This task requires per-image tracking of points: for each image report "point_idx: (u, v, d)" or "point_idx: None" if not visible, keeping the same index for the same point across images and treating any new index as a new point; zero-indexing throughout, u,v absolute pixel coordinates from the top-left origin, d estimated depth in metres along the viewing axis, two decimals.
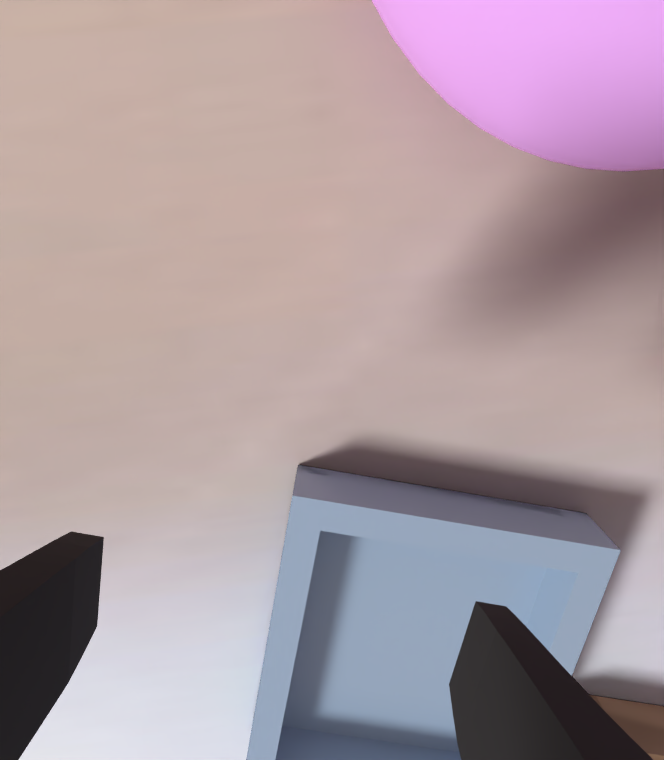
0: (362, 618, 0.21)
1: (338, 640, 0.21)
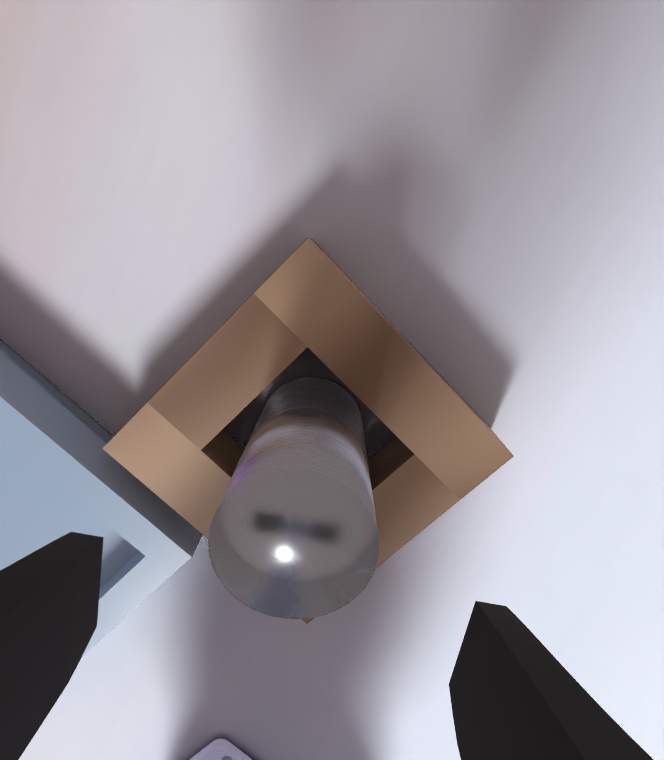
0: None
1: None
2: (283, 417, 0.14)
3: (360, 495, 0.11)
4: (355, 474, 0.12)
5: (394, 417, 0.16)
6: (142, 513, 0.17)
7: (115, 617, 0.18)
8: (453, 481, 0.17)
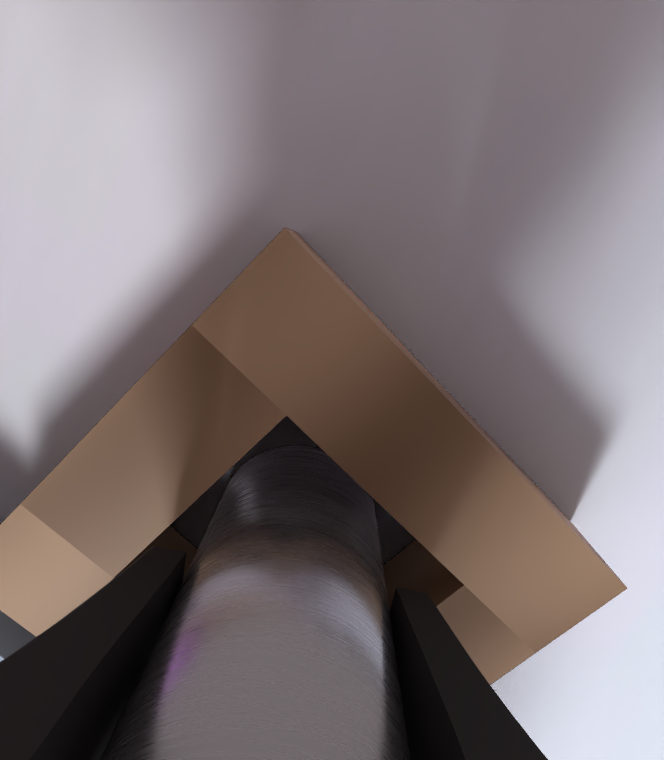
0: None
1: None
2: (238, 554, 0.08)
3: None
4: (376, 738, 0.06)
5: (432, 528, 0.10)
6: None
7: None
8: (526, 626, 0.10)
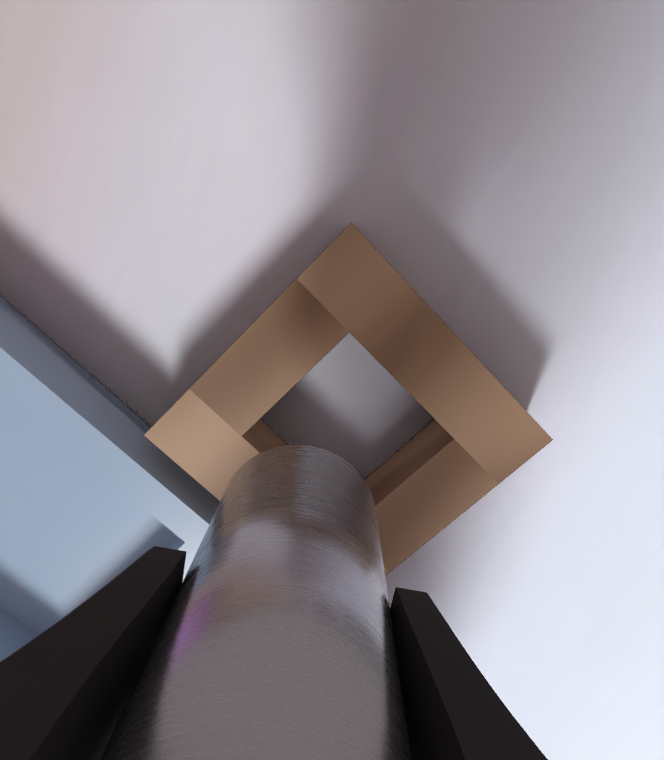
0: None
1: None
2: (238, 553, 0.08)
3: None
4: (377, 736, 0.06)
5: (434, 402, 0.16)
6: (182, 499, 0.18)
7: None
8: (492, 465, 0.17)
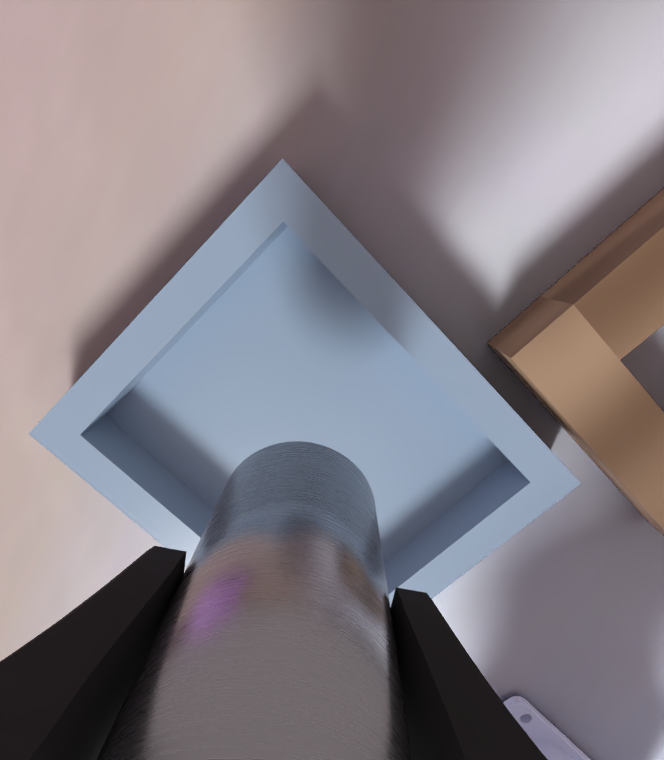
0: None
1: None
2: (242, 548, 0.08)
3: None
4: (380, 733, 0.05)
5: None
6: None
7: (480, 552, 0.17)
8: None
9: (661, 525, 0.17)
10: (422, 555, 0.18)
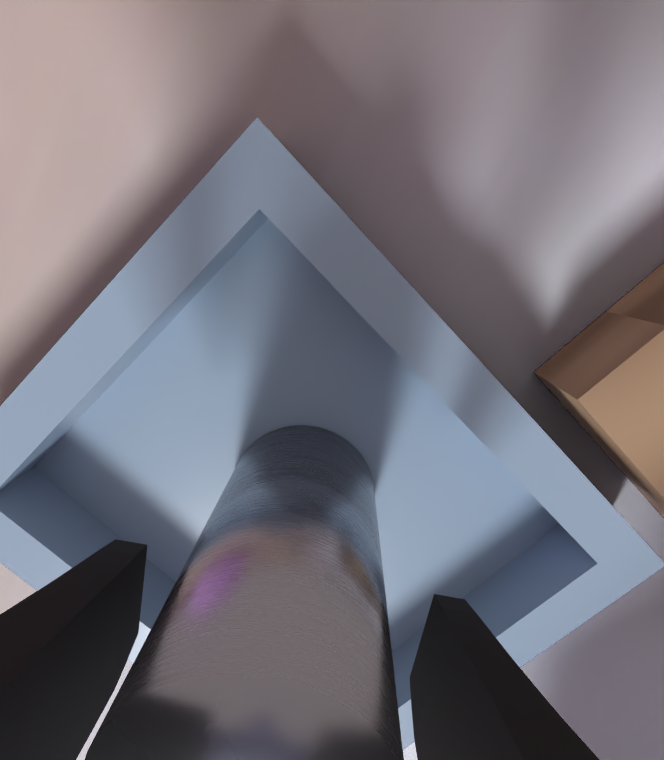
0: None
1: None
2: (251, 509, 0.09)
3: (374, 719, 0.06)
4: (365, 651, 0.07)
5: None
6: None
7: (527, 652, 0.13)
8: None
9: None
10: None
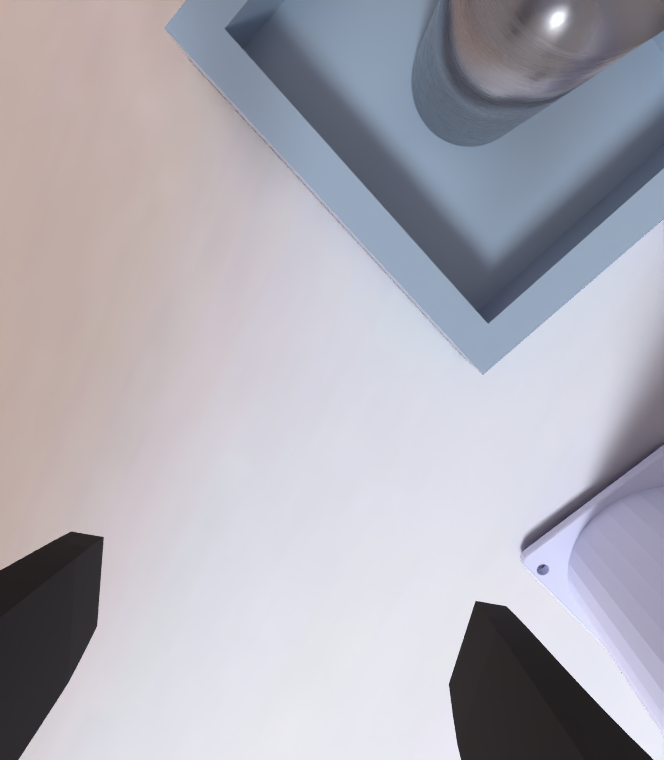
0: (406, 116, 0.16)
1: (415, 166, 0.16)
2: None
3: None
4: None
5: None
6: None
7: None
8: None
9: None
10: (603, 213, 0.15)
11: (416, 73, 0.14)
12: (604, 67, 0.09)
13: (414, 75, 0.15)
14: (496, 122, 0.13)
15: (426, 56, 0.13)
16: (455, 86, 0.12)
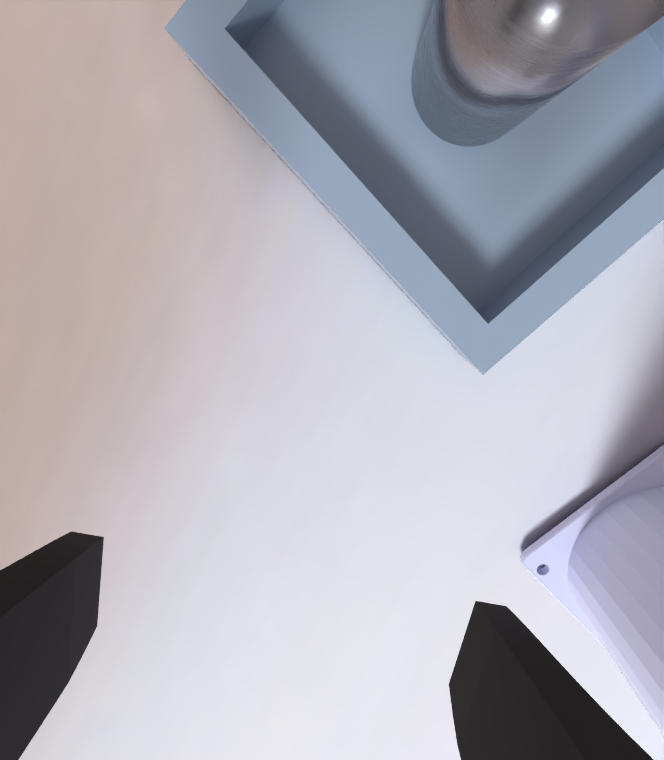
0: (406, 116, 0.16)
1: (415, 166, 0.16)
2: None
3: None
4: None
5: None
6: None
7: None
8: None
9: None
10: (603, 213, 0.15)
11: (415, 72, 0.15)
12: (595, 63, 0.09)
13: (413, 74, 0.15)
14: (493, 121, 0.13)
15: (423, 55, 0.13)
16: (450, 84, 0.12)
